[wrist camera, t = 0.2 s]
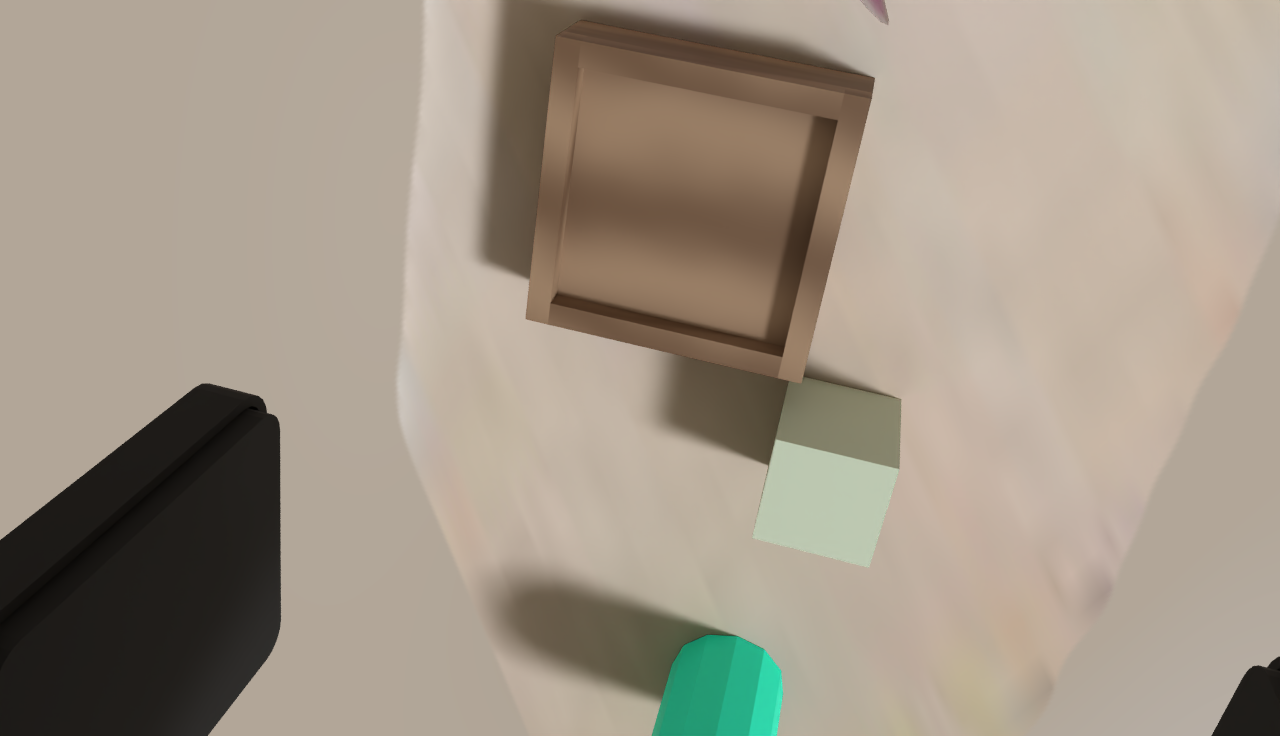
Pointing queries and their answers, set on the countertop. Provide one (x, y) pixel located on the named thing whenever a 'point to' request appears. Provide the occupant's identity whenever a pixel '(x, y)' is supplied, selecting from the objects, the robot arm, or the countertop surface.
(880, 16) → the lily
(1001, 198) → the countertop surface
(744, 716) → the candle
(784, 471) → the sage block
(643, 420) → the countertop surface
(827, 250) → the base block
